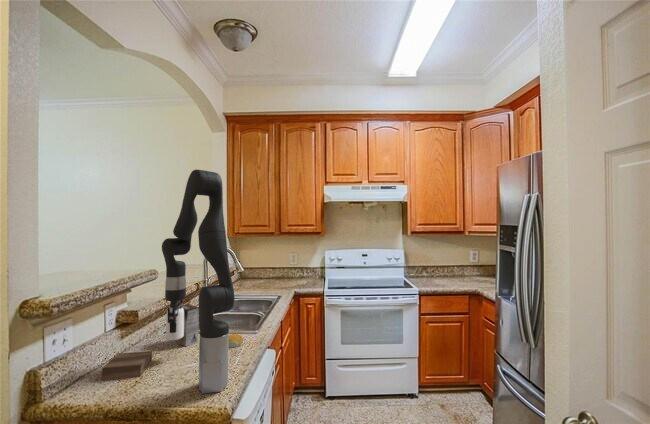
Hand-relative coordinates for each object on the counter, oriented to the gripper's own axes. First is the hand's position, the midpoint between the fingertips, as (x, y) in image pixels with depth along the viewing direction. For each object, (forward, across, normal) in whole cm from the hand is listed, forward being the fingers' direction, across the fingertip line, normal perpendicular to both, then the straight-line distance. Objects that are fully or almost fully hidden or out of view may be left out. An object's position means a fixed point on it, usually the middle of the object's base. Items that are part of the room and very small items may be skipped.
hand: (175, 329), depth 124 cm
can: (+3, 0, 0) cm, 3 cm away
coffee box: (+11, +18, -1) cm, 21 cm away
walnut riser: (+12, -6, +14) cm, 19 cm away
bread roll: (+12, +11, -22) cm, 27 cm away
